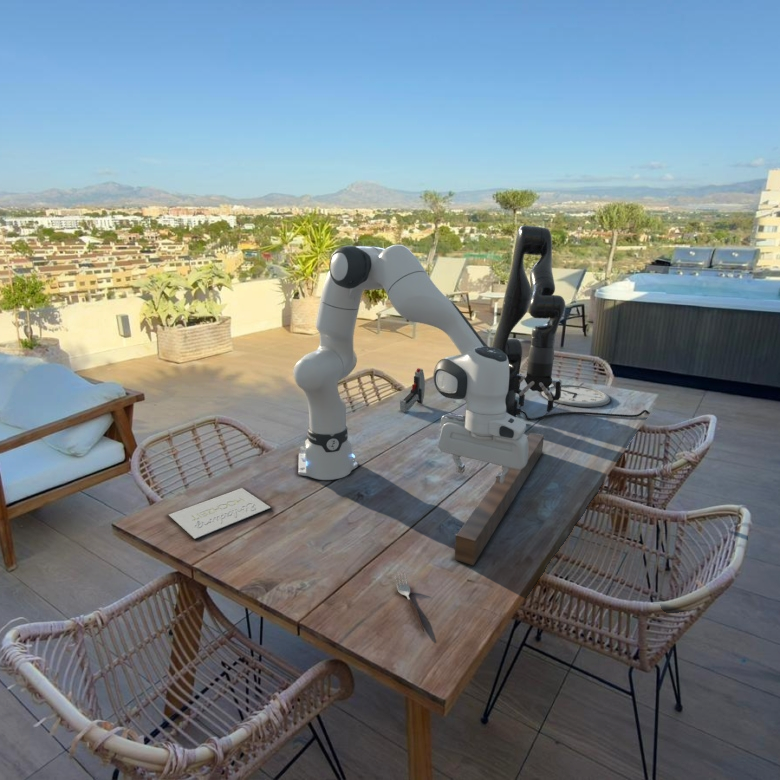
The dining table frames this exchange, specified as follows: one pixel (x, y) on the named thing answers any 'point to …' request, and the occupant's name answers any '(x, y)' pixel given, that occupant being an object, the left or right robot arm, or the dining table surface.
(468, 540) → the post
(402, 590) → the fork
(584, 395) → the wall clock
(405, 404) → the toy gun
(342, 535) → the dining table surface
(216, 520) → the invitation card
